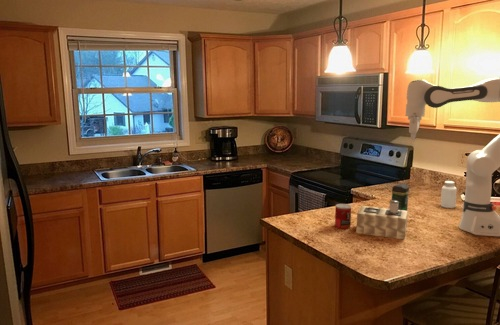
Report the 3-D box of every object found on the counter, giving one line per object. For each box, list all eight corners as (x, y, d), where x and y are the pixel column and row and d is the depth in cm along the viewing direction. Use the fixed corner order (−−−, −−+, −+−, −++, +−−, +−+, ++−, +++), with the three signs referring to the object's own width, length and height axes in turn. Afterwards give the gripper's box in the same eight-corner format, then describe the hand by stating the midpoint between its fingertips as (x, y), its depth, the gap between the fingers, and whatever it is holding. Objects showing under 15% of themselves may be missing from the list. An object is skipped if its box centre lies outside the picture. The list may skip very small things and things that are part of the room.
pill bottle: (440, 207, 242) (442, 182, 240) (440, 204, 249) (442, 179, 247) (455, 209, 239) (457, 183, 237) (454, 205, 247) (456, 180, 244)
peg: (397, 220, 200) (398, 200, 198) (397, 222, 196) (398, 202, 194) (389, 219, 201) (390, 199, 200) (388, 221, 198) (389, 201, 196)
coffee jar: (403, 221, 218) (405, 187, 214) (388, 218, 222) (390, 184, 219) (409, 216, 225) (411, 183, 222) (394, 214, 230) (396, 181, 227)
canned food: (341, 230, 204) (342, 208, 202) (331, 225, 211) (332, 204, 209) (353, 227, 208) (354, 206, 206) (343, 223, 215) (344, 202, 213)
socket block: (406, 230, 204) (407, 209, 202) (404, 239, 191) (405, 218, 189) (360, 224, 212) (361, 205, 211) (356, 233, 200) (357, 212, 198)
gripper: (421, 114, 194) (419, 143, 197) (422, 111, 213) (420, 138, 215) (406, 113, 197) (405, 142, 199) (409, 111, 215) (407, 137, 218)
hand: (413, 140), depth 208 cm, fingers open, 8 cm apart
